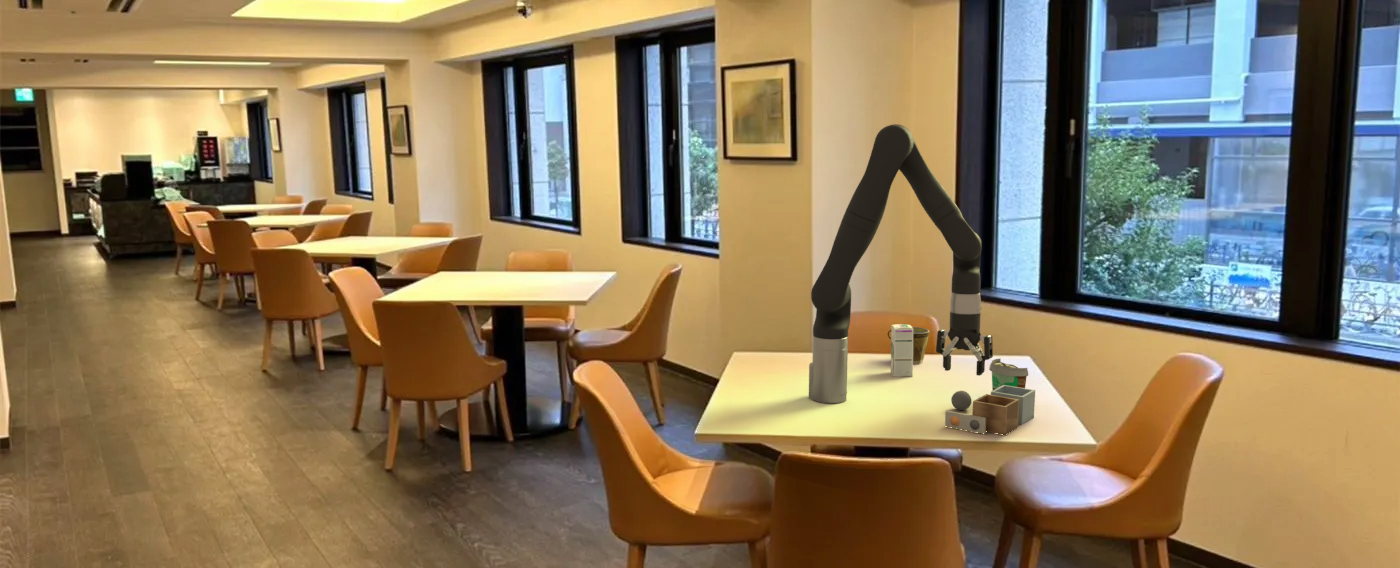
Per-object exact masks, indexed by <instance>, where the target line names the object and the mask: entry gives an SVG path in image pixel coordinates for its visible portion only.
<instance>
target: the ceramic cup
mask: <svg viewBox="0 0 1400 568" xmlns="http://www.w3.org/2000/svg"><path fill="white" fill-rule="evenodd" d="M911 327H912V328H913V365H920V364H922V363H923V362H924V358H925V353H926V349H927V344H928V339H929V335H930V330H929V329H927V328H924V327H917V326H911ZM890 333H891V329H890V330H888V332H887V337H888V338H889V339H890V340H891V335H890Z"/></svg>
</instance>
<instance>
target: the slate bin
mask: <svg viewBox="0 0 1400 568" xmlns="http://www.w3.org/2000/svg"><path fill="white" fill-rule="evenodd" d="M990 395H995V396H1001V397H1007V398H1013V399H1019V412H1018V425H1020V424H1021V426H1022V424H1023V425H1024V424H1025V422H1026V423H1028V422H1029V421H1031V420H1032V419H1033V418H1035V407H1036V406H1035V403H1036V390H1035V389H1030V388H1026V387H1025V388H1019V387H1013V386H1007V385H1002V386H1001V387H999V388H997V389H995V390H993V391H992V390H991V391H990Z"/></svg>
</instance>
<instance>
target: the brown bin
mask: <svg viewBox="0 0 1400 568" xmlns="http://www.w3.org/2000/svg"><path fill="white" fill-rule="evenodd" d="M1018 412H1019V399H1013V398H1007V397H1001V396H995V395H991V394H988V393H986V394H984V395H982V396H981V397H980V396H979V397H978V398H977V399H974V400H973V401H972V414H971V415H973V416H979V417H984V418H986V431H987V432H986V433H988V432H992V433H991V434H993V433H998V434H1003V435H1005V436H1007V435H1008V434H1007V433H1009V432H1010V433H1012V432H1013V431H1014V429H1015V428H1016V429H1018V428H1017V427H1019V424H1018ZM1016 429H1015V430H1016ZM1012 430H1013V431H1012ZM1011 431H1012V432H1011ZM1010 433H1009V434H1010ZM998 434H997V435H998ZM1006 434H1007V435H1006ZM1003 435H1002V436H1003Z"/></svg>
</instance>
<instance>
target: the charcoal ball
mask: <svg viewBox="0 0 1400 568" xmlns="http://www.w3.org/2000/svg"><path fill="white" fill-rule="evenodd" d="M951 404H952V407H954V408H955V410H958V411H966V410H968V409H969V408H970V407H971V406H972V396H971V395H970V393H968V392H967V391H965V390H957V391H955V392H954V393H953V394H952V396H951Z"/></svg>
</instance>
